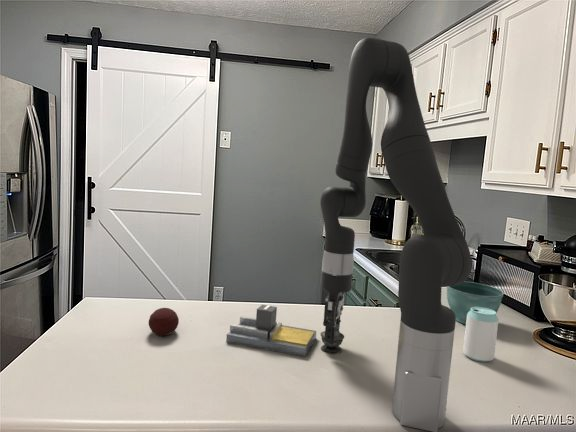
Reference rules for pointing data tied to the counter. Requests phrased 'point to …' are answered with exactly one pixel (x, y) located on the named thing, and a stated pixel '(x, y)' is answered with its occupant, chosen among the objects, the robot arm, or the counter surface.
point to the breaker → (266, 317)
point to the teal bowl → (472, 298)
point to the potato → (163, 321)
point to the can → (480, 334)
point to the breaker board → (272, 337)
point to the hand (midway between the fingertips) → (332, 335)
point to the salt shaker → (338, 338)
